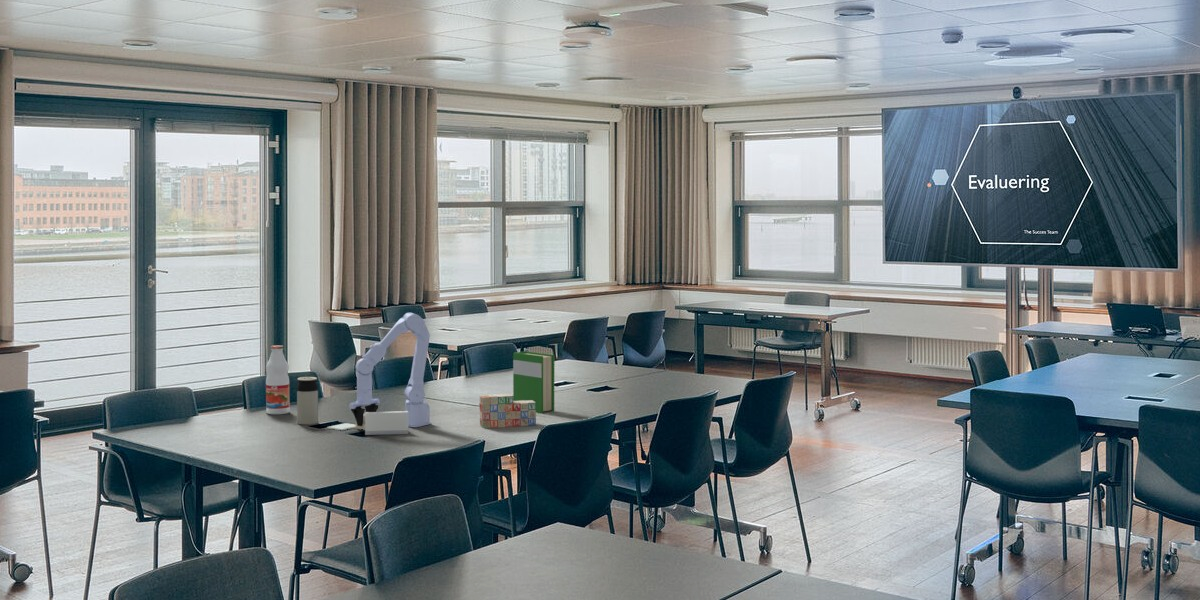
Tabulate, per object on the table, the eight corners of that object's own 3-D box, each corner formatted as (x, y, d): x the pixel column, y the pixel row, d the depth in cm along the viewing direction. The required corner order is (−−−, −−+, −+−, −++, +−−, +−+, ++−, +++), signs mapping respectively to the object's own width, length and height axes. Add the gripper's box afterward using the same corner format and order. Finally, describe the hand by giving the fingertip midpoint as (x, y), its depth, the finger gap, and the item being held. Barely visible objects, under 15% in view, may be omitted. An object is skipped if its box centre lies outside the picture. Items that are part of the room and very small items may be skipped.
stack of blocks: (532, 423, 455) (532, 392, 454) (536, 425, 449) (536, 394, 448) (479, 425, 449) (479, 394, 448) (482, 428, 443) (482, 396, 442)
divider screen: (365, 434, 428) (365, 413, 427) (365, 432, 433) (365, 411, 432) (408, 433, 431) (408, 412, 430) (408, 431, 436) (408, 410, 435)
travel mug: (312, 425, 447) (312, 379, 445) (293, 424, 448) (293, 379, 447) (321, 421, 454) (321, 377, 453) (303, 421, 456) (302, 376, 455)
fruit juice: (293, 411, 479) (292, 344, 477) (284, 415, 469) (283, 347, 467) (272, 410, 480) (271, 344, 478) (262, 414, 471) (261, 346, 469)
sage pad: (345, 424, 449) (345, 423, 449) (360, 426, 444) (360, 425, 444) (326, 428, 440) (326, 427, 440) (341, 430, 436) (341, 429, 436)
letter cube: (364, 426, 445) (364, 414, 444) (374, 428, 442) (374, 415, 442) (355, 428, 440) (355, 415, 440) (365, 430, 438) (365, 417, 437)
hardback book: (554, 411, 481) (554, 354, 480) (541, 413, 476) (541, 356, 474) (526, 406, 494) (526, 351, 492) (513, 408, 488) (513, 352, 487)
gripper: (370, 386, 448) (370, 420, 449) (343, 391, 436) (343, 426, 437) (383, 388, 445) (383, 422, 446) (357, 392, 432) (357, 428, 433)
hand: (364, 424), depth 441 cm, fingers closed on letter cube, 5 cm apart
